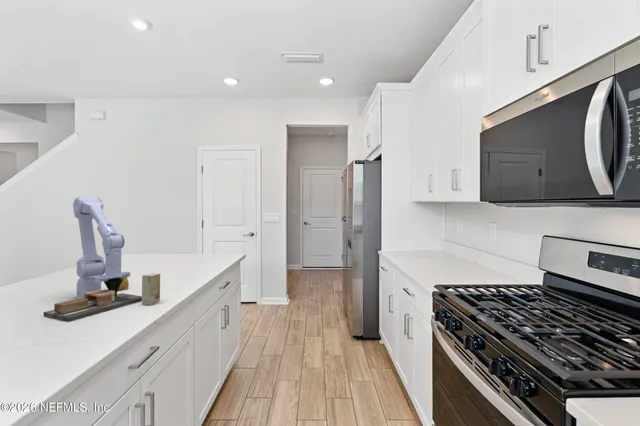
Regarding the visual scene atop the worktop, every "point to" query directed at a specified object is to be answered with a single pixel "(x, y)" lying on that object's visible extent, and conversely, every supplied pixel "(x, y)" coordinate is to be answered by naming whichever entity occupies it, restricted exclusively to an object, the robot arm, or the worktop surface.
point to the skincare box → (150, 288)
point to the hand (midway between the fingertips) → (113, 296)
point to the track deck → (96, 305)
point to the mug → (124, 284)
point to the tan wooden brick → (77, 304)
